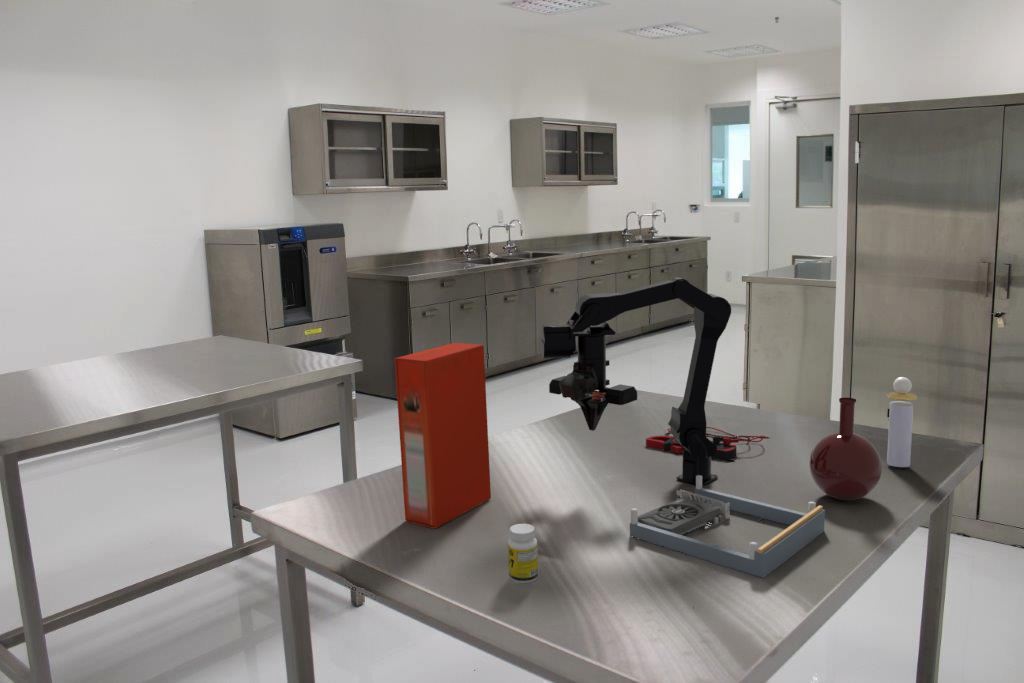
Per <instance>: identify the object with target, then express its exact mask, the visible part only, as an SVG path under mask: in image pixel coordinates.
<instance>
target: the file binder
mask: <svg viewBox="0 0 1024 683" xmlns="http://www.w3.org/2000/svg"><path fill="white" fill-rule="evenodd" d="M484 349H485V348H484V345H483V344H475V343H473V344H472V343H462V342H452V343H449V344H445V345H440V346H437V347H433V348H430V349H425V350H421V351H418V352H413V353H409V354H406V355H402V356H399V357H395V358H394V369H395V370H394V372H395V384H396V385H395V387H396V399H397V400H396V401H397V414H398V415H397V416H398V417H397V418H398V428H399V429H398V430H399V444H400V445H399V447H400V460H401V461H400V462H401V475H402V490H403V503H404V507H403V508H404V519H405V522H408V523H411V524H416V525H419V526H423V527H427V528H431V529H437V528H439V527H441V526H443V525H444V524H447V523H448V522H450V521H452V520H454V519H456V518H458V517H459V516H461V515H463V514H465V513H467V512H468V511H470V510H472V509H475V508H476V507H478V506H479V505H482V504H484V503H485V502H487V501H488V500H489V501H490V500H491V498H492V493H491V492H492V491H491V472H490V450H489V448H490V447H489V429H488V411H487V410H488V408H487V406H488V404H487V392H486V391H487V390H486V369H485V368H486V366H485V365H486V364H485V350H484Z"/></svg>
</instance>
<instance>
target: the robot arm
mask: <svg viewBox="0 0 1024 683" xmlns="http://www.w3.org/2000/svg"><path fill="white" fill-rule="evenodd" d="M676 299H678V300H680V301H681V302H683V303H684V304H685V305H687V306H689V308H690V307H691V308H692V309H693V325H694V330H695V331H694V332H695V338H694V343H693V349H692V353H691V354H692V355H691V358H690V364H689V369H688V375H687V380H686V382H685V383H686V385H685V389H684V395H683V399H682V401H681V403H680V405H679V406H678V407H676V406H675V407H674V406H672V407H671V413H670V414H671V415H670V420H669V421H668V423H667V425H669V427H670V429H671V430H670V431H671V432H670V433H671V436H674V438H675V439H676V440H677V441H678V442H679V443H680V445H681V446H682V447H684V448H685V449H684V450H683V453H682V466H681V467H682V473H681V474H679V475H677V476H676V480H678V481H681V482H686V483H690V484H694V485H696V476H697V475H701V476H702V486H705V485H706V484H709V483H710V482H712V481H714V480H716V479H718V475H717V474H713V473H712V458H711V457H713V456H714V455H715V453H716V450H717V446H715V445H714V444H713V443H712V442H711V441H712V440H710V439H709V437H706V436H707V435H706V433H707V428H706V427H707V418H706V409H705V408H706V406H705V404H706V401H707V396H708V395H707V394H708V389H709V384H710V380H711V376H712V370H713V364H714V361H715V356H716V351H717V350H716V349H717V345H718V342H719V340H720V338H721V336H722V335H723V333H724V331H725V329H726V328H727V326H728V323H729V321H730V318H731V315H732V306H731V303H730V302H729V301H728V300H727V299H725V297H721V296H720V295H719V296H718V295H715V294H712V293H707V292H705V291H703V290H702V289H700V288H698V287H696V286H694V285H693V284H692V283H690V282H689V280H687V279H685V278H681V277H679V276H678V277H672V278H671V279H668V280H665V281H660V282H656V283H651V284H647V285H645V286H640V287H637V288H633V289H628V290H624V291H620V292H609V293H607V292H606V293H605V292H602V293H599V292H598V293H588V294H584V295H582V296H580V297H579V298H578V300H577V301H576V303H575V306H574V308H575V310H574V312H573V313H572V315H571V316H570V318H569V319H568V320H567V321H566V323H565V325H550V324H544V325H542V326H541V328H542V329H541V338H540V354H541V359H544V360H546V359H569V358H571V356H572V355H574V353H576V350H577V361H574V362H573V365H572V367H573V368H572V369H573V370H572V372H570V373H568V374H567V375H563V376H560V377H555V378H553V379H551V381H550V382H549V384H548V390H549V392H548V393H549V394H554V395H562V398H565V399H566V398H567V399H568V398H570V400H571V401H573V402H575V403H576V404H577V405H578V406H579V407H580V409H581V411H582V413H583V417H584V419H585V422H586V425H587V426H588V429H589V431H591V432H592V431H595V430H596V429H597V427H598V424H599V423H600V420H601V417H602V416H603V414H604V411H605V410H606V408H607V407H608V405H609V404H610V405H615V406H616V405H617V406H624V405H627V404H630V403H632V402H635V401H637V400H638V390H637V389H636V387H635V386H634V385H633V386H632V385H626V384H621V383H620V384H617V385H613V386H611V387H608V386H610V385H611V384H610V383H611V382H610V379H607V374H606V373H607V367H608V366H610V360H609V359H606V357H607V356H606V355H607V352H606V351H607V349H606V345H607V344H606V343H607V341H606V336H615V335H616V331H615V330H613V329H612V327H611V326H610V324H609V323H608V321H611V320H612V319H615V318H616V317H618V316H619V315H621V314H624V313H626V312H629V311H634V310H639V309H641V308H645V307H648V306H652V305H657V304H661V303H665V302H669V301H673V300H676ZM576 339H577V341H576Z"/></svg>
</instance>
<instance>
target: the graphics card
mask: <svg viewBox="0 0 1024 683" xmlns="http://www.w3.org/2000/svg"><path fill="white" fill-rule="evenodd" d="M676 495H677V496H679V497H680V498H676V500H674V501H672V502H669V503H667V504H664V505H661V506H659V507H657V508H655V509H652V510H650V511H648V512H645V513H642V514H640V515H638V523H642V524H645V525H648V526H652V527H655V528H659V529H662V530H665V531H669V532H672V533H676V534H679V535H682V534H684V533H686V532H688V533H690V532H692V531H691V530H693V531H695V530H697V529H699V527H700V528H702V527H703V526H704V527H705V526H708V525H706V524H709V523H707V522H708V521H709V522H710V523H712V524H709V525H711V526H708V527H711V528H712V527H715V526H717V525H719V524H723V523H724V522H726V521H727V520H728V519H729V518H731V517H730V516H731V514H730V512H731V511H730V508H729V506H730V503H727V504H725V503H724V502H722V501H719V500H716V499H712V498H709V497H705V496H702V495H699V494H695V492H692V491H688V490H684V489H681V488H680V489H679V490H678V489H677V490H676ZM695 496H697V498H698V500H699V501H697V500H696V497H695ZM699 497H701V498H702V501H703V502H701V501H700V498H699ZM703 498H705V499H707V501H708V502H707V503H704V501H705V499H703ZM695 500H696V501H695ZM709 500H710V501H711V504H712V505H711V504H710V503H709ZM715 501H716V503H715ZM718 502H719V503H718ZM714 503H715V506H714ZM717 503H718V506H717ZM720 503H721V506H720V507H719V505H720ZM701 526H702V527H701ZM696 528H697V529H696ZM694 529H695V530H694ZM689 531H690V532H689ZM686 534H687V533H686ZM684 535H685V534H684ZM682 536H683V535H682Z"/></svg>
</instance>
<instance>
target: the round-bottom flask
mask: <svg viewBox="0 0 1024 683" xmlns="http://www.w3.org/2000/svg"><path fill="white" fill-rule="evenodd" d="M838 402H839V423H838V424H839V425H838V428H839V429H838V431H837V432H833V433H830V434H828V435H827V434H826V436H823V437H822V438H821V439H820V440H819V441H818V442H817V443H816V444H815V445H814V447H813V448H812V450H811V452H810V456H809V459H808V468H809V473H810V476H811V479H812V480H813V482H814V483H815V485H816V487H817V488H818V489H819V490H820V491H822V493H824V494H825V495H826V496H829V497H830V498H834V499H836V500H841V501H855V500H858V499H862V498H864V497H866V496H867V495H869V494H870V493H871V492H873V490H875V488H876V487H877V486H878V484H879V482H880V480H881V477H882V474H883V473H882V471H883V465H882V459H881V456H880V453H879V451H878V450H877V448H876V447H875V446H874V445H873V443H872V442H871V441H869V440H868V439H867V438H865V437H864V436H862V435H859V434H858V433H855V432H854V430H855V407H856V403H857V399H856V398H854V397H840V398H839V399H838Z"/></svg>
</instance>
